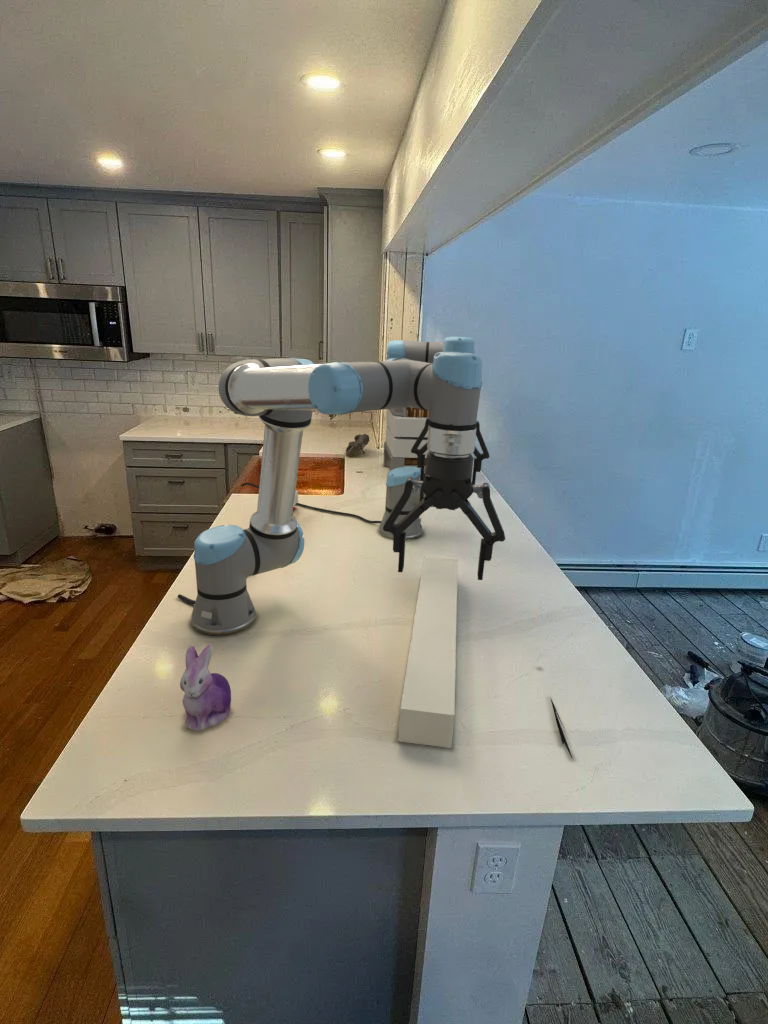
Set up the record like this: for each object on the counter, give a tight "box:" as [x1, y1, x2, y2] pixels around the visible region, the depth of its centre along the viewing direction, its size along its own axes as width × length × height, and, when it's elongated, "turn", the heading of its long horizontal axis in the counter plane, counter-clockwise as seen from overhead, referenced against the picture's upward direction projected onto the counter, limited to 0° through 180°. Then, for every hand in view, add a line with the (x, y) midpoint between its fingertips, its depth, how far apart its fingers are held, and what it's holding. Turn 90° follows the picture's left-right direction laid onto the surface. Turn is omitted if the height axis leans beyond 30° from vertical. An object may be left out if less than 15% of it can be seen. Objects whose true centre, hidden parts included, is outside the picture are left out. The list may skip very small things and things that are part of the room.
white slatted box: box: [383, 407, 430, 472], centre depth 268 cm, size 34×33×41 cm
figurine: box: [179, 643, 232, 732], centre depth 106 cm, size 9×10×15 cm
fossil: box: [345, 433, 370, 458], centre depth 306 cm, size 22×10×15 cm
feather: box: [539, 666, 573, 758], centre depth 114 cm, size 2×28×2 cm
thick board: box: [397, 556, 459, 749], centre depth 134 cm, size 67×10×7 cm, turn 173°
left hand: (440, 573), depth 98 cm, fingers open, 13 cm apart
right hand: (447, 481), depth 150 cm, fingers open, 13 cm apart
